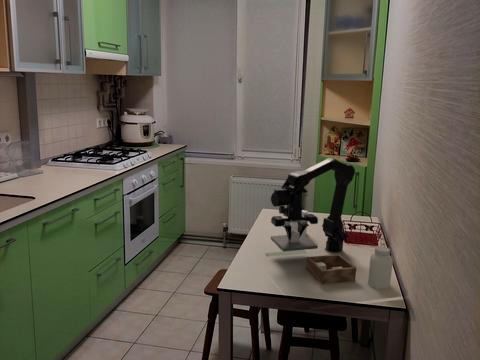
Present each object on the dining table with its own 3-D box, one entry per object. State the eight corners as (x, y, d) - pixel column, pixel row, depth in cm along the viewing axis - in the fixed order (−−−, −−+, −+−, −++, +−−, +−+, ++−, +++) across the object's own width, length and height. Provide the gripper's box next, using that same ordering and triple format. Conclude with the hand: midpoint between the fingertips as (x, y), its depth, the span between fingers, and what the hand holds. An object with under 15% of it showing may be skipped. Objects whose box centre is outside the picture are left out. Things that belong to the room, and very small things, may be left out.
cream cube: (321, 270, 185) (322, 261, 184) (325, 273, 182) (326, 265, 181) (313, 271, 184) (314, 262, 183) (317, 274, 181) (318, 266, 180)
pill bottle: (386, 293, 168) (390, 254, 165) (364, 287, 172) (368, 249, 169) (392, 285, 175) (396, 247, 172) (371, 280, 179) (374, 243, 176)
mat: (303, 250, 208) (303, 249, 208) (321, 266, 191) (321, 265, 191) (265, 253, 203) (265, 252, 203) (279, 270, 186) (279, 269, 186)
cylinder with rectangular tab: (309, 233, 231) (310, 209, 229) (301, 238, 224) (303, 214, 221) (293, 229, 236) (294, 206, 233) (285, 234, 229) (286, 210, 226)
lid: (303, 236, 204) (303, 224, 203) (317, 248, 190) (318, 236, 189) (270, 238, 200) (271, 227, 199) (283, 251, 186) (283, 239, 185)
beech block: (340, 273, 182) (341, 266, 182) (345, 278, 178) (346, 270, 178) (331, 274, 181) (331, 267, 180) (336, 279, 177) (336, 271, 177)
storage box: (337, 268, 190) (338, 254, 188) (355, 282, 176) (356, 267, 175) (306, 271, 186) (306, 257, 185) (321, 286, 173) (322, 271, 171)
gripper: (308, 197, 202) (306, 231, 205) (267, 199, 197) (266, 235, 200) (319, 204, 191) (317, 240, 195) (276, 207, 186) (275, 244, 190)
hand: (293, 239), depth 195 cm, fingers closed on lid, 3 cm apart
